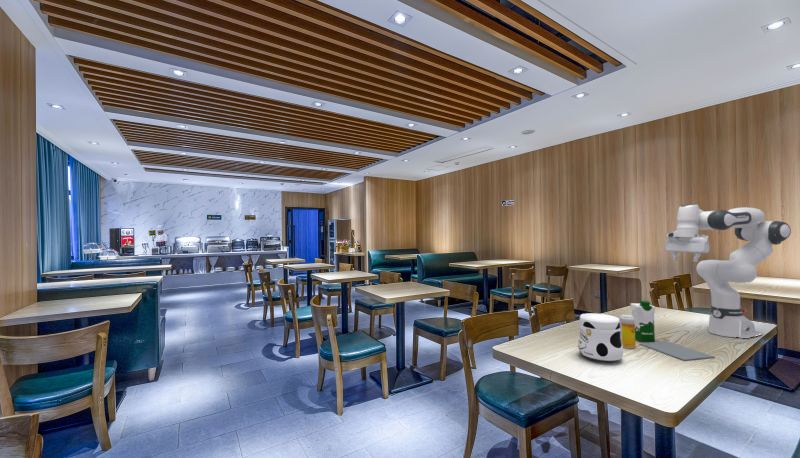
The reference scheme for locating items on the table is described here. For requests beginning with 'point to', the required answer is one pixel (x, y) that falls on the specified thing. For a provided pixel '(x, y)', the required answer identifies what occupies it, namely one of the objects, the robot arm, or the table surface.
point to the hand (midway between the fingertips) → (685, 261)
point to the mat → (676, 350)
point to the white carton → (643, 321)
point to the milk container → (600, 337)
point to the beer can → (627, 331)
